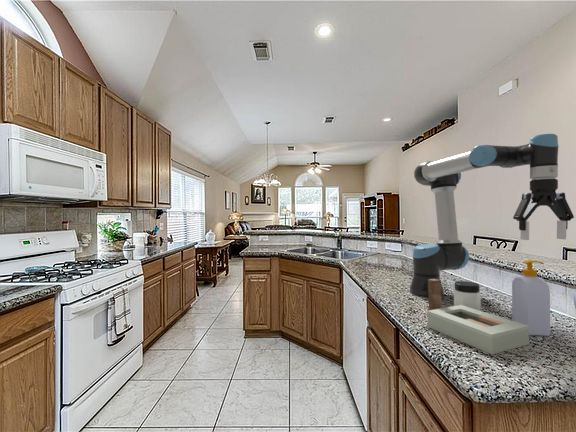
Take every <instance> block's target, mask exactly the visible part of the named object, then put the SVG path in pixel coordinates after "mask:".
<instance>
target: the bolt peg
mask: <svg viewBox="0 0 576 432" xmlns="http://www.w3.org/2000/svg"><path fill="white" fill-rule="evenodd" d="M441 284H442V280H441V279H440V280H438V279H428V290H429V296H428V306H427V311H429V310H435V309H440V308H442V296H441Z"/></svg>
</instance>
